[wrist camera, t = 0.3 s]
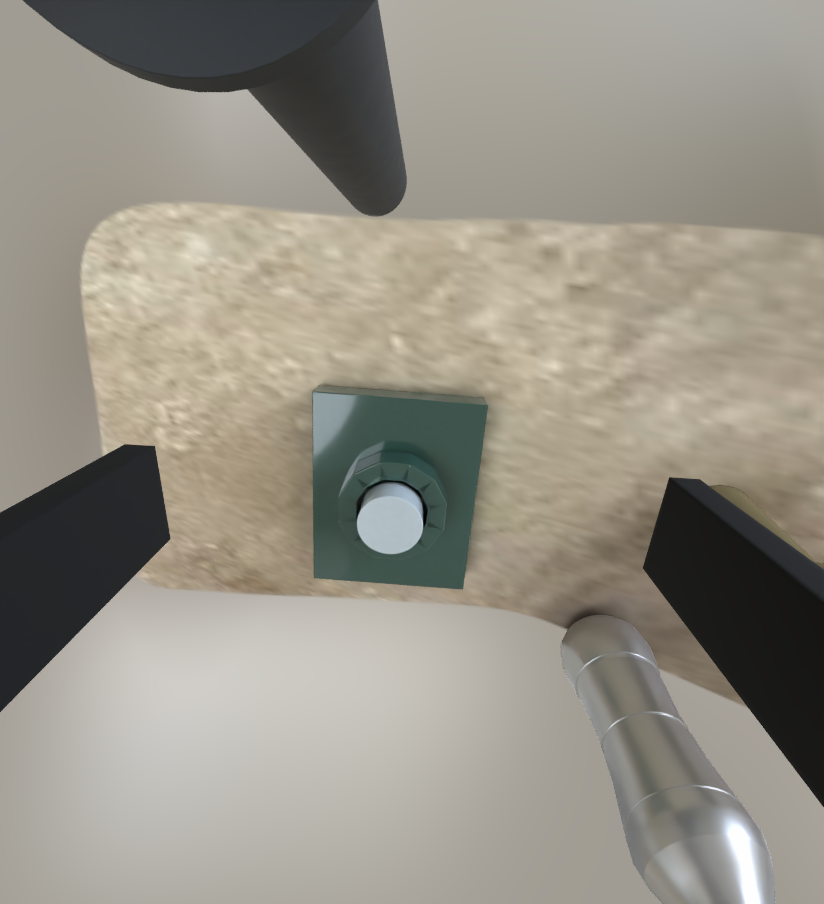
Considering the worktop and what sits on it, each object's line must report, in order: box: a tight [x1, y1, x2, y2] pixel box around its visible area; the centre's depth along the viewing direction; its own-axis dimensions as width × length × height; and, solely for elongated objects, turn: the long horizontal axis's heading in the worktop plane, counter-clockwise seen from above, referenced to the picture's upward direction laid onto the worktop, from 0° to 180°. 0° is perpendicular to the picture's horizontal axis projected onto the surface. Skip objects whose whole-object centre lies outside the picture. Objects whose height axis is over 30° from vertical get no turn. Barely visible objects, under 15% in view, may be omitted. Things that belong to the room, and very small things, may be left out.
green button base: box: [312, 385, 488, 589], centre depth 30 cm, size 14×11×4 cm
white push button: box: [357, 482, 423, 554], centre depth 27 cm, size 4×4×2 cm
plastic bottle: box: [561, 615, 775, 904], centre depth 27 cm, size 6×7×20 cm
